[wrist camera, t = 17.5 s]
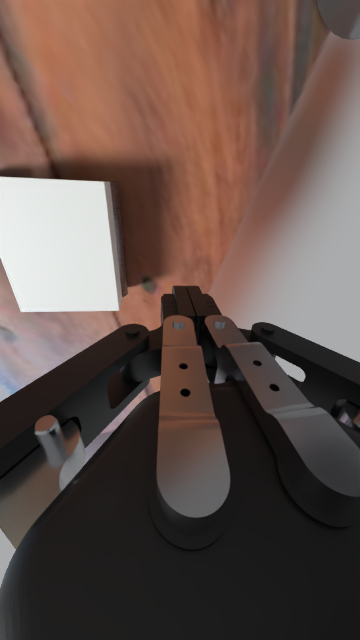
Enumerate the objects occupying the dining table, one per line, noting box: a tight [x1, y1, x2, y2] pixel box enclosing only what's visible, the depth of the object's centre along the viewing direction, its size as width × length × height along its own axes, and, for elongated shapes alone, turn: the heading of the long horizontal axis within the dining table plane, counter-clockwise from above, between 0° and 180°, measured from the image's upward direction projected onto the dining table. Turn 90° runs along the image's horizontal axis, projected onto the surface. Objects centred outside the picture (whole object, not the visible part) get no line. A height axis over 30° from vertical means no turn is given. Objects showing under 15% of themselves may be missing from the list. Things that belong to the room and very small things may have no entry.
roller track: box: [0, 176, 128, 297], centre depth 24 cm, size 13×12×3 cm
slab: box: [0, 177, 122, 312], centre depth 22 cm, size 10×12×3 cm
